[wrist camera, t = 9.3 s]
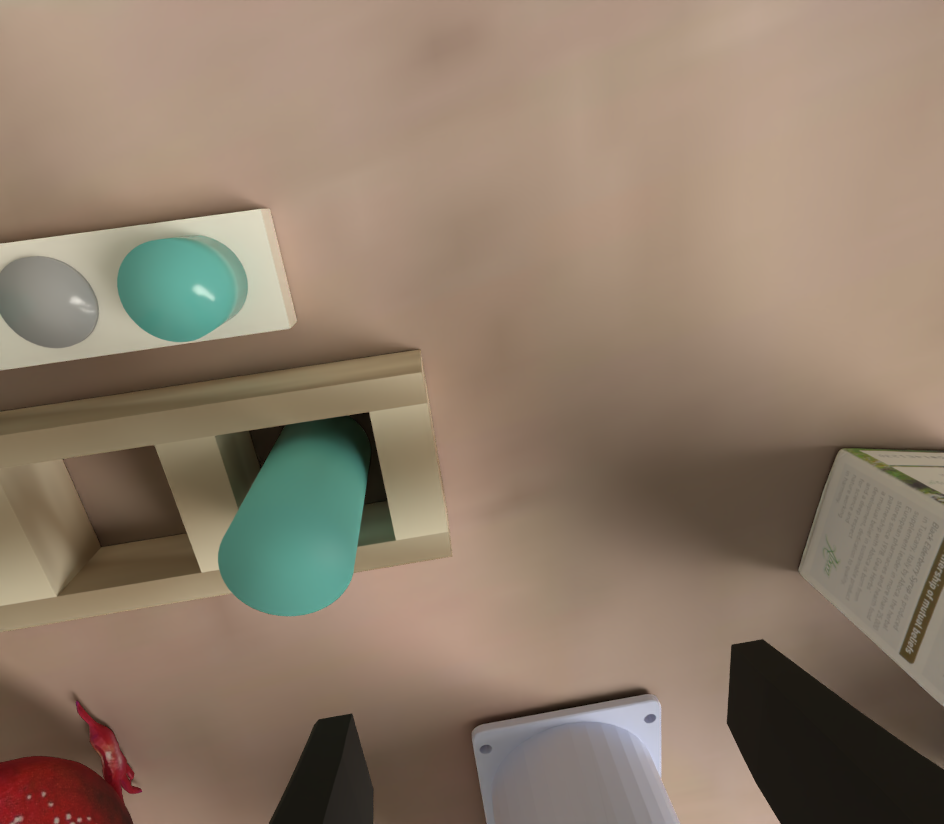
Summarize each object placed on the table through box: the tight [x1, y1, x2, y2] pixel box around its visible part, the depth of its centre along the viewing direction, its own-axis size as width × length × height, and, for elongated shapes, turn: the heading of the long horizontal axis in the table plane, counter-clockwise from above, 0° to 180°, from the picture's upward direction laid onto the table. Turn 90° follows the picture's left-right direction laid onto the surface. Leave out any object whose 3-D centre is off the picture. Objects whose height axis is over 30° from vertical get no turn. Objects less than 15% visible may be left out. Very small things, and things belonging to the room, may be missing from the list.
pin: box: [218, 415, 371, 616], centre depth 15 cm, size 3×3×6 cm
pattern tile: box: [0, 209, 297, 371], centre depth 14 cm, size 3×12×3 cm, turn 97°
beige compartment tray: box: [0, 349, 452, 632], centre depth 15 cm, size 6×19×6 cm, turn 97°
